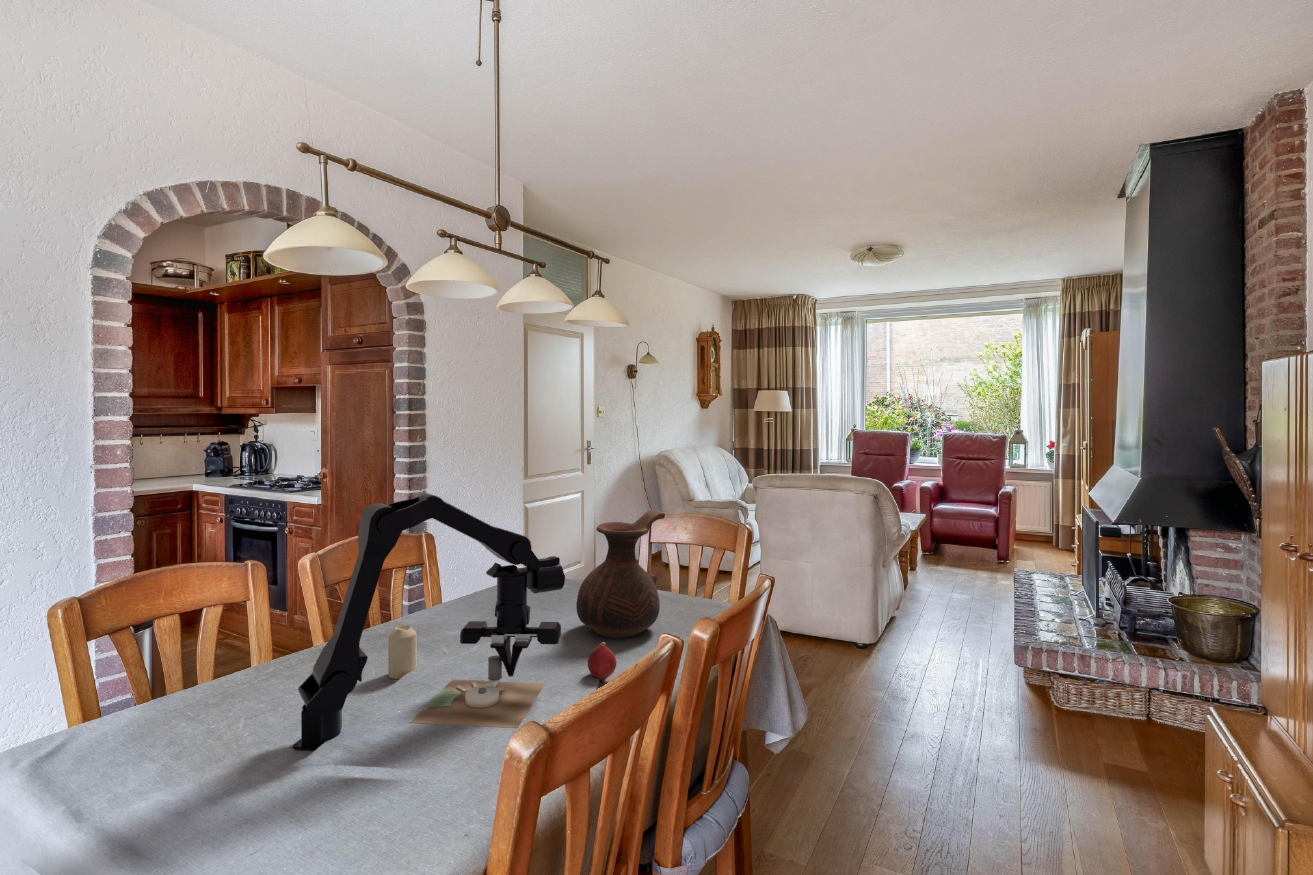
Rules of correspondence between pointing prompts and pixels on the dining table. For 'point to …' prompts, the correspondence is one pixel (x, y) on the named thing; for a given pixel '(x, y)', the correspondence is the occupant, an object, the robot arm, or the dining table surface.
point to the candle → (401, 651)
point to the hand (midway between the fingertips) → (511, 675)
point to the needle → (486, 686)
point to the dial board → (504, 713)
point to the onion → (602, 662)
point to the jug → (620, 584)
